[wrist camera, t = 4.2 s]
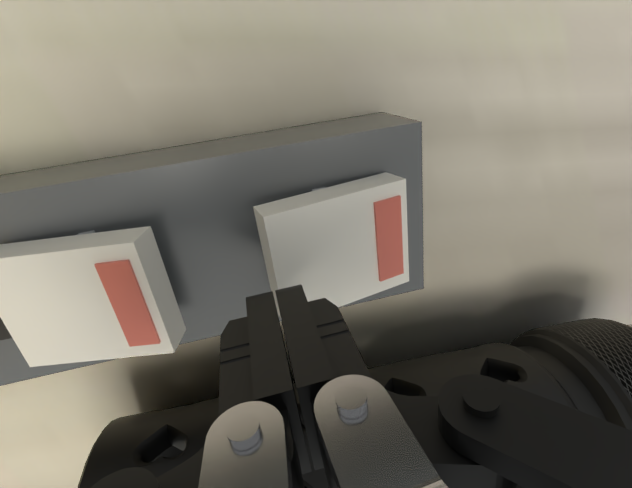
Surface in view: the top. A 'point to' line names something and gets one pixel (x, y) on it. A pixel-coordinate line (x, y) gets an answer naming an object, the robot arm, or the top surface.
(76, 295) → the rocker
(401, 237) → the rocker
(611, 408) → the muzzle brake
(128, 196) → the switch strip
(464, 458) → the robot arm
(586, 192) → the top surface
